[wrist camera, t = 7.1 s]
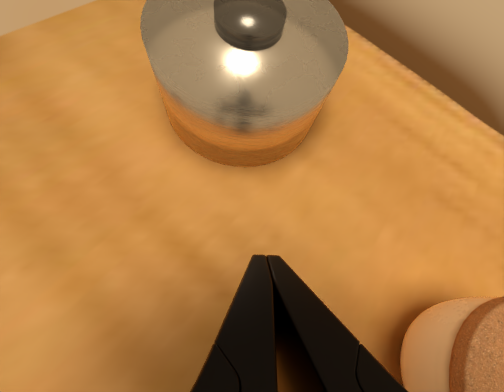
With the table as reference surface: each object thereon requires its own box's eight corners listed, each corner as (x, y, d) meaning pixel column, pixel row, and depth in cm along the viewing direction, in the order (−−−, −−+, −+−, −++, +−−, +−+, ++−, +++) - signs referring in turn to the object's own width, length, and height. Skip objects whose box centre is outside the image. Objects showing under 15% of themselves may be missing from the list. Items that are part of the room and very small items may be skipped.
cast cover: (335, 94, 27) (388, 6, 18) (261, 197, 22) (286, 142, 13) (226, 28, 28) (227, -82, 20) (133, 110, 23) (80, 9, 15)
